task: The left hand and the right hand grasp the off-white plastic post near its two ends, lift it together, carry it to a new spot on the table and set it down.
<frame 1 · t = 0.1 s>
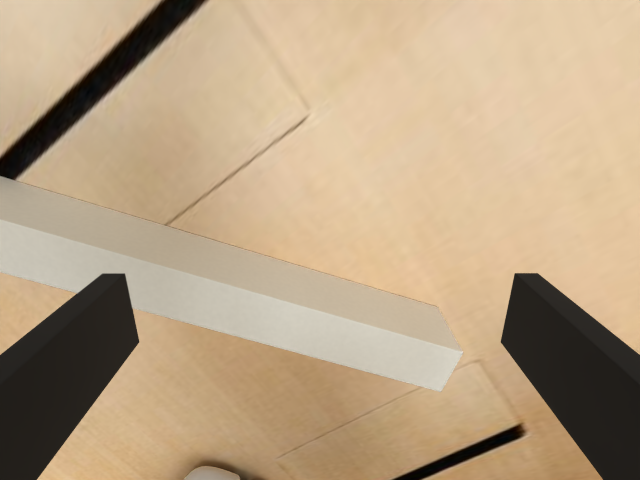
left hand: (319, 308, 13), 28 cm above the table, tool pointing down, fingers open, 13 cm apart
post: (193, 255, 42), on the table
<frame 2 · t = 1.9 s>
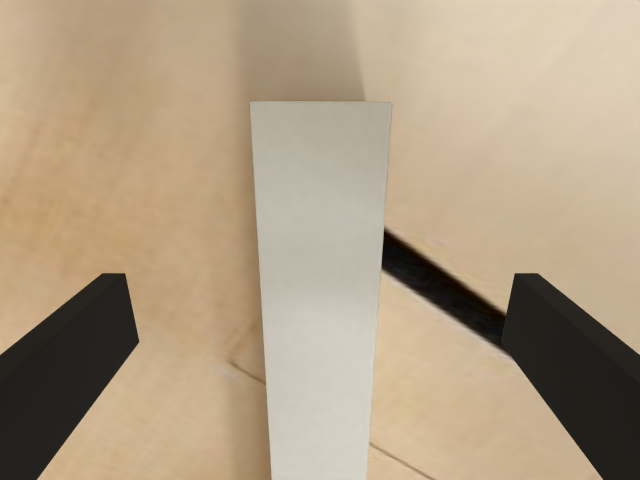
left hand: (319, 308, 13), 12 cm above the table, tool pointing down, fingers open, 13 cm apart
post: (319, 464, 32), on the table
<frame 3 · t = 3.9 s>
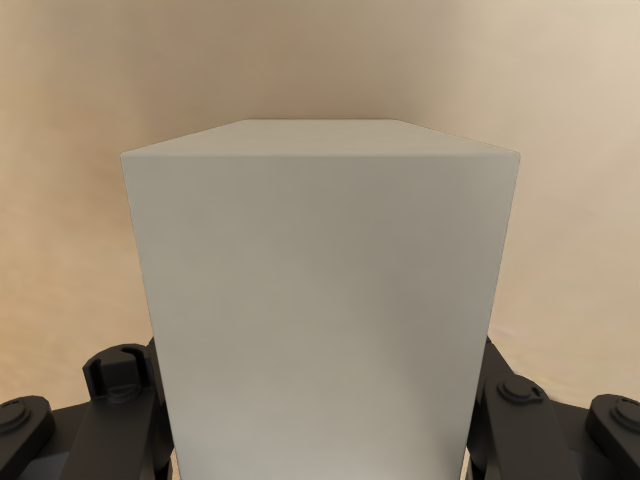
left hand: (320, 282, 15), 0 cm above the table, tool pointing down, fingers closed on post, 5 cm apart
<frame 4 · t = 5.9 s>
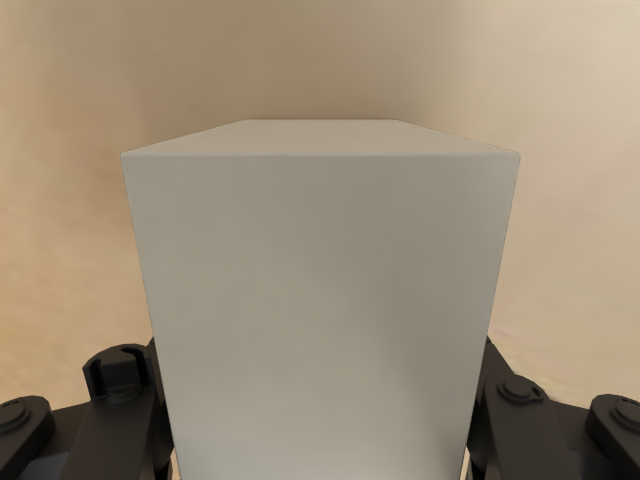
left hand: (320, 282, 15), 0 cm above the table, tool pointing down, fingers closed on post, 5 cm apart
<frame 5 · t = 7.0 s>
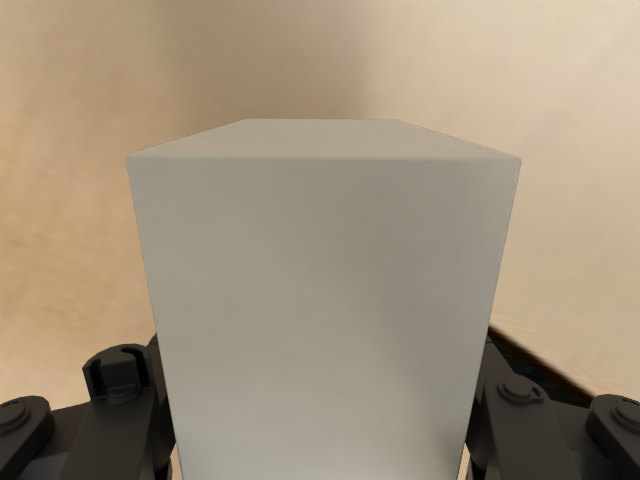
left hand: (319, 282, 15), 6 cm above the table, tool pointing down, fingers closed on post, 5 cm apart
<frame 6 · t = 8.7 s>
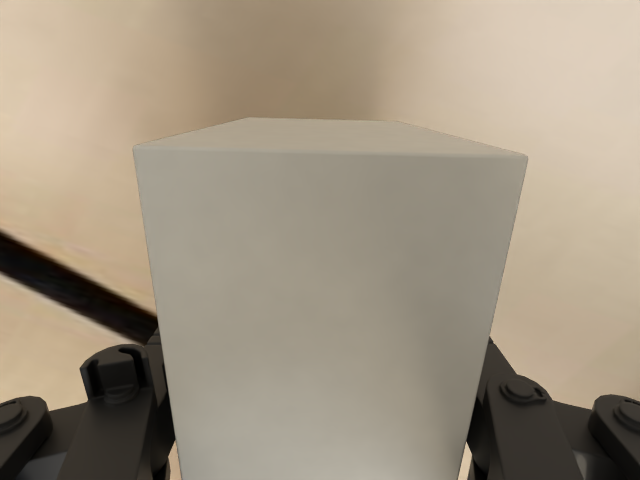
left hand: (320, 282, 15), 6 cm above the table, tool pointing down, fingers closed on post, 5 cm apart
when the left hand's fingers open (2 cm above the table, at t = 10.1 s): post drops 1 cm, on the table.
when the right hand's fingers open (5 cm above the table, at t = 10.1 s): post drops 1 cm, on the table.
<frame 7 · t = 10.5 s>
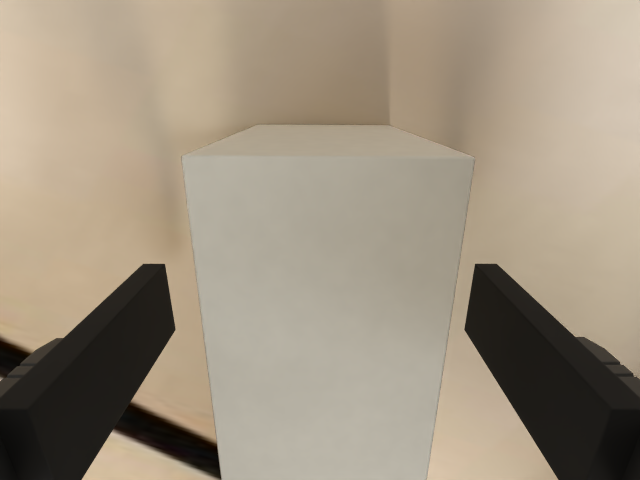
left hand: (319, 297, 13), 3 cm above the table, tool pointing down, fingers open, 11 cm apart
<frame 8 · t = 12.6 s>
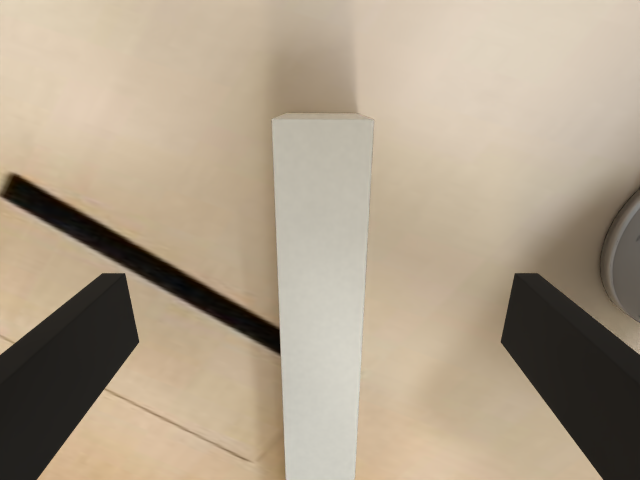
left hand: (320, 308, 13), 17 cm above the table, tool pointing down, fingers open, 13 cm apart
post: (319, 420, 38), on the table
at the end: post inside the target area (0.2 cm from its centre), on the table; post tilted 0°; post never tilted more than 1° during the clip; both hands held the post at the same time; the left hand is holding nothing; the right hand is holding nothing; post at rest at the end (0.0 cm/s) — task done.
